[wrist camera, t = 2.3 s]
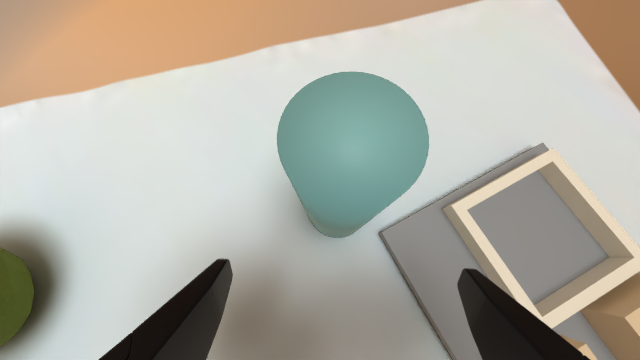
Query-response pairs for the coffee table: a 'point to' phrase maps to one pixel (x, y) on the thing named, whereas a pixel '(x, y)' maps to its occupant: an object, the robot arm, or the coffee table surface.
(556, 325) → the base board
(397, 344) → the coffee table surface
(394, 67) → the coffee table surface
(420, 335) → the coffee table surface
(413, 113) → the teal column
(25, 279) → the apple
